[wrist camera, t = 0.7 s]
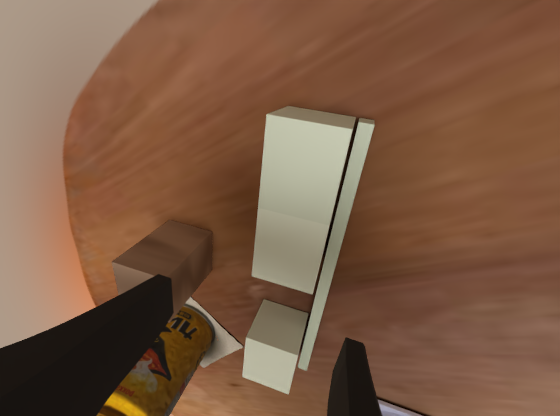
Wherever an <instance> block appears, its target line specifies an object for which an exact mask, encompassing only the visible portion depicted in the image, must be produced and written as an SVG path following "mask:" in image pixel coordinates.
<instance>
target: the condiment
mask: <svg viewBox="0 0 560 416" xmlns="http://www.w3.org/2000/svg"><path fill="white" fill-rule="evenodd" d="M216 336H217V337H218V338H217V337H216ZM217 339H218V340H219V341H217ZM241 348H243V346H242V345H241V344H240V343H238V342H237V341H236V340H235V339H234V338H233V337H232V336H231V335H229V334H228V332H227V331H226V330H225V329H223V328H222V327H221V326H220V325H219V324H218V323H217V322H216V321H215V320H214V318H213V317H212V316H211V315H210V314H209V313H207V312H206V311H205V310H204V309H203V308H202V307H201V306H200V305H199V304H198V303H197V302H196V301H194V300H193V299H192V298H191V297H190V298H189V299H188V300H187V302H186V303H185V304H184V305H183V307H182V308H181V309H180V310H179V312H178V313H177V314H176V315H175V317H174V318H173V319H172V320H171V322H170V323H169V322H168V323H167V325H166V326H165V328H164V329H163V331H162V332H161V334H160V335H159V337H158V338H157V339H156V340H155V342H154V343H153V344H152V345H151V347H150V348H149V349H148V350H147V352H146V353H145V354H144V355H143V356H142V358H141V359H140V360H139V361H138V363H137V364H136V365H135V366H134V367H133V369H132V370H131V371H130V372H129V374H128V375H127V376H126V377H125V378H124V380H123V381H122V382H121V383H120V384H119V386H118V387H117V388H116V389H115V391H114V392H113V393H112V395H111V396H110V397H109V399H108V400H107V401H106V403H105V404H104V406H103V407H102V408H101V410H100V411H99V413H98V414H97V416H169V415H170V414H171V412H172V410H173V408H174V407H175V405H176V403H177V402H178V400H179V398H180V396H181V395H182V393H183V391H184V390H185V388H186V386H187V384H188V383H189V381H190V379H191V377H192V376H193V374H194V372H195V370H197V367H198V366H199V365H201V366H202V367H203V368H204V367H206V366H208V365H209V364H211V363H213V362H215V361H217V360H218V359H220V358H222V357H224V356H226V355H228V354H230V353H233V352H234V351H236V350H239V349H241Z"/></svg>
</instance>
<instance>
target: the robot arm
mask: <svg viewBox="0 0 560 416" xmlns="http://www.w3.org/2000/svg"><path fill="white" fill-rule="evenodd" d="M173 313H174V309H173V295H172V281H171V278H169V277H166V276H163V275H160V274H157V275H156V276H154V277H152V278H150V279H148V280H146V281H144V282H143V283H141V284H139V285H137V286H135V287H133V288H132V289H130V290H128V291H126V292H124V293H122V294H120V295H119V296H117V297H115V298H113V299H111V300H109V301H107V302H105V303H103V304H101V305H100V306H98V307H96V308H94V309H91V310H89V311H87V312H85V313H83V314H81V315H79V316H77V317H75V318H73V319H71V320H69V321H67V322H65V323H62V324H60V325H58V326H56V327H53V328H51V329H49V330H46V331H44V332H42V333H39V334H37V335H35V336H32V337H30V338H27V339H24V340H22V341H19V342H16V343H14V344H12V345H8V346H5V347H3V348H0V416H97V414H98V413H99V411H100V410H101V408H102V407H103V406H104V404H105V403H106V401H107V400H108V399H109V397H110V396H111V395H112V393H113V392H114V391H115V389H116V388H117V387H118V386H119V384H120V383H121V382H122V381H123V380H124V378H125V377H126V376H127V375H128V374H129V372H130V371H131V370H132V369H133V367H134V366H135V365H136V364H137V363H138V361H139V360H140V359H141V358H142V356H143V355H144V354H145V353H146V352H147V350H148V349H149V348H150V347H151V345H152V344H153V343H154V342H155V340H156V339H157V338H158V337H159V335H160V334H161V332H162V331H163V329H164V328H165V326H166V325H167V323H168V321H169V320H170V318H171V316H172V315H173ZM327 416H422V415H420V414H417V413H414V412H411V411H409V410H406V409H403V408H400V407H398V406H395V405H392V404H389V403H386V402H384V401H381V400H378V399H377V396H376V392H375V389H374V385H373V381H372V377H371V373H370V369H369V364H368V360H367V355H366V350H365V346H364V344H363V343H361V342H358V341H355V340H352V339H349V338H345V341H344V343H343V346H342V349H341V351H340V354H339V356H338V359H337V362H336V364H335V367H334V369H333V374H332V380H331V386H330V392H329V399H328V410H327Z"/></svg>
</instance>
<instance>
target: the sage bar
mask: <svg viewBox="0 0 560 416" xmlns="http://www.w3.org/2000/svg"><path fill="white" fill-rule="evenodd" d="M355 119H356V117H352V116H346V115H340V114H334V113H328V112H322V111H316V110H310V109H304V108H298V107H292V106H287V107H284V108H282V109H279V110H276V111H274V112H271V113H269V114H267V117H266V128H265V138H264V149H263V160H262V171H261V181H260V192H259V203H258V214H257V224H256V235H255V246H254V257H253V267H252V276H253V277H256V278H259V279H263V280H266V281H269V282H273V283H276V284H279V285H283V286H286V287H289V288H292V289H296V290H299V291H302V292H306V293H309V294H312V295H313V291H314V287H315V283H316V279H317V275H318V272H319V268H320V264H321V260H322V256H323V252H324V247H325V243H326V239H327V235H328V231H329V227H330V223H331V219H332V214H333V210H334V206H335V202H336V198H337V194H338V190H339V185H340V181H341V177H342V173H343V169H344V165H345V161H346V157H347V152H348V148H349V144H350V140H351V136H352V132H353V128H354V123H355ZM374 125H375V124H374V120H370V119H364V118H359V122H358V126H357V130H356V134H355V138H354V142H353V146H352V150H351V154H350V158H349V162H348V166H347V171H346V175H345V179H344V183H343V187H342V191H341V195H340V199H339V203H338V207H337V211H336V215H335V219H334V223H333V227H332V231H331V235H330V239H329V243H328V247H327V251H326V255H325V259H324V263H323V267H322V271H321V275H320V279H319V283H318V287H317V291H316V295H315V299H314V303H313V307H312V311H311V316H310V320H309V324H308V328H307V332H306V336H305V340H304V344H303V348H302V352H301V356H300V360H299V364H298V368H300V369H303V370H306V371H307V367H308V364H309V360H310V357H311V353H312V349H313V346H314V342H315V338H316V335H317V331H318V328H319V324H320V320H321V317H322V313H323V310H324V306H325V302H326V299H327V295H328V291H329V288H330V284H331V281H332V277H333V273H334V270H335V266H336V262H337V259H338V255H339V252H340V248H341V244H342V241H343V237H344V234H345V230H346V226H347V223H348V219H349V215H350V212H351V208H352V205H353V201H354V197H355V194H356V190H357V187H358V183H359V179H360V176H361V172H362V168H363V165H364V161H365V158H366V154H367V150H368V147H369V143H370V139H371V136H372V132H373V129H374ZM308 314H309V313H306V312H303V311H300V310H296V309H293V308H290V307H287V306H284V305H281V304H278V303H274V302H271V301H268V300H265V299H264V300H263V302H262V304H261V306H260V308H259V311H258V313H257V315H256V317H255V319H254V321H253V323H252V326H251V328H250V330H249V332H248V334H247V336H246V343H245V353H244V364H243V375H242V377H244V378H247V379H249V380H252V381H255V382H257V383H260V384H262V385H265V386H268V387H270V388H273V389H275V390H278V391H281V392H283V393H286V394H289V391H290V387H291V383H292V379H293V375H294V371H295V367H296V363H297V359H298V355H299V351H300V347H301V342H302V338H303V334H304V330H305V326H306V322H307V318H308Z"/></svg>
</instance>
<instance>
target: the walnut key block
mask: <svg viewBox="0 0 560 416" xmlns="http://www.w3.org/2000/svg"><path fill="white" fill-rule="evenodd" d="M112 266H113V270H114V275H115V280H116V284H117V289H118V294H119V295H120V294H122V293H124V292H126V291H128V290H130V289H132V288H133V287H135V286H137V285H139V284H141V283H143V282H144V281H146V280H148V279H150V278H152V277H154V276H156V275H157V274H160V275H163V276H166V277H169V278H171V281H172V295H173V309H174V313H173V315H172V316H171V318H170V320H169V321H168V322H169V323H170V322H171V320H172V319H173V318H174V317H175V315H176V314H177V313H178V312H179V310H180V309H181V308H182V307H183V305H184V304H185V303H186V302H187V300H188V299H189V298H190V297H191V295H192V294H193V293H194V292H195V290H196V289H197V288H198V287H199V285H200V284H201V283H202V282H203V280H204V279H205V278H206V277H207V275H208V274H209V273H210V272H211V270H212V231H208V230H205V229H201V228H197V227H194V226H190V225H186V224H183V223H179V222H176V221H172V220H168V221H167V222H166V223H164V224H163V225H162V226H160V227H159V228H157V229H156V230H155V231H153V232H152V233H151V234H149V235H148V236H146V237H145V238H144V239H142V240H141V241H140V242H138V243H137V244H135V245H134V246H133V247H131V248H130V249H129V250H127V251H126V252H124V253H123V254H122V255H120V256H119V257H118V258H116V259H115V260H113V261H112Z"/></svg>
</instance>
